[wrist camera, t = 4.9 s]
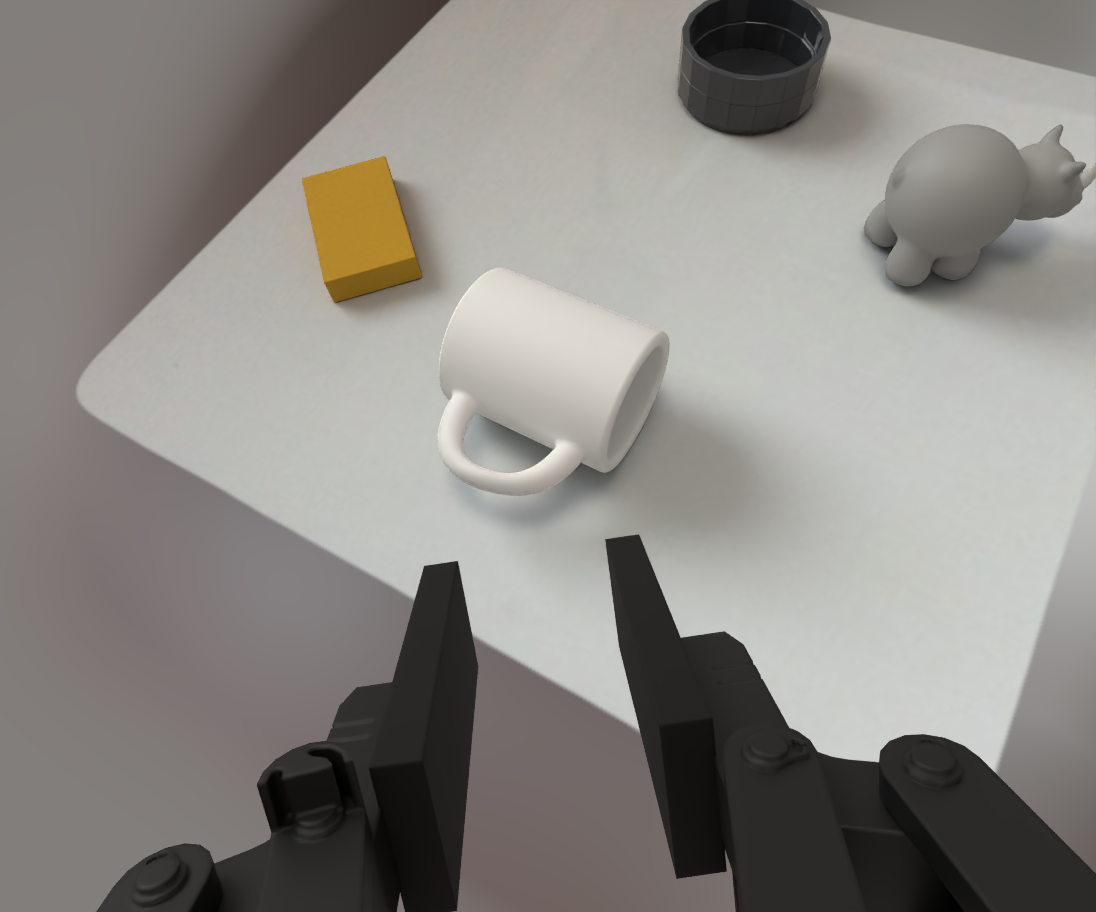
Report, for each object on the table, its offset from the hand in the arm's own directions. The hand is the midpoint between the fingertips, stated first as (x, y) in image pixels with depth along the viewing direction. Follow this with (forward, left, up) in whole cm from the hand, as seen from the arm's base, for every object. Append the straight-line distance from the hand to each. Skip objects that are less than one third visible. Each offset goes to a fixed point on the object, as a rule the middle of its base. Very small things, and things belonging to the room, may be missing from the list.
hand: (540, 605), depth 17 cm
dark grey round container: (+26, +39, -21) cm, 52 cm away
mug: (+3, +16, -21) cm, 27 cm away
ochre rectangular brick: (-4, +35, -21) cm, 41 cm away
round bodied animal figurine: (+32, +20, -21) cm, 44 cm away
